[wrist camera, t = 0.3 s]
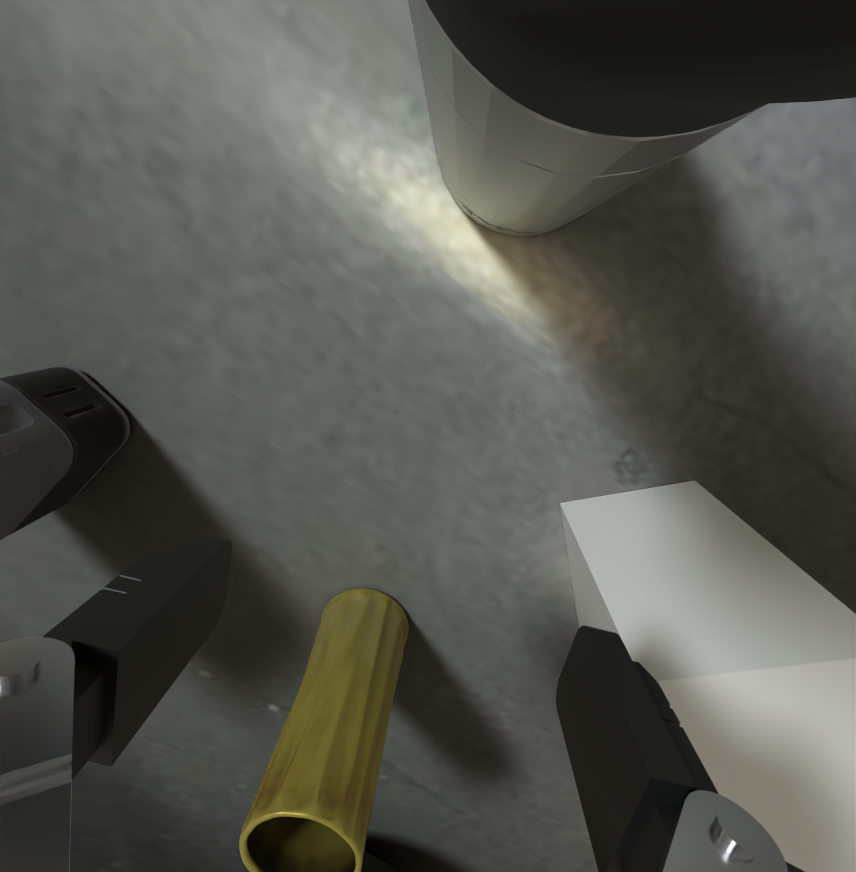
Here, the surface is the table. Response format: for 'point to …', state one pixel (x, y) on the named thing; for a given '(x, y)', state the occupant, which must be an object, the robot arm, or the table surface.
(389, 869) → the coal bowl
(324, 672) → the vase
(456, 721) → the table surface
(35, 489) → the electronic device
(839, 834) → the power box
